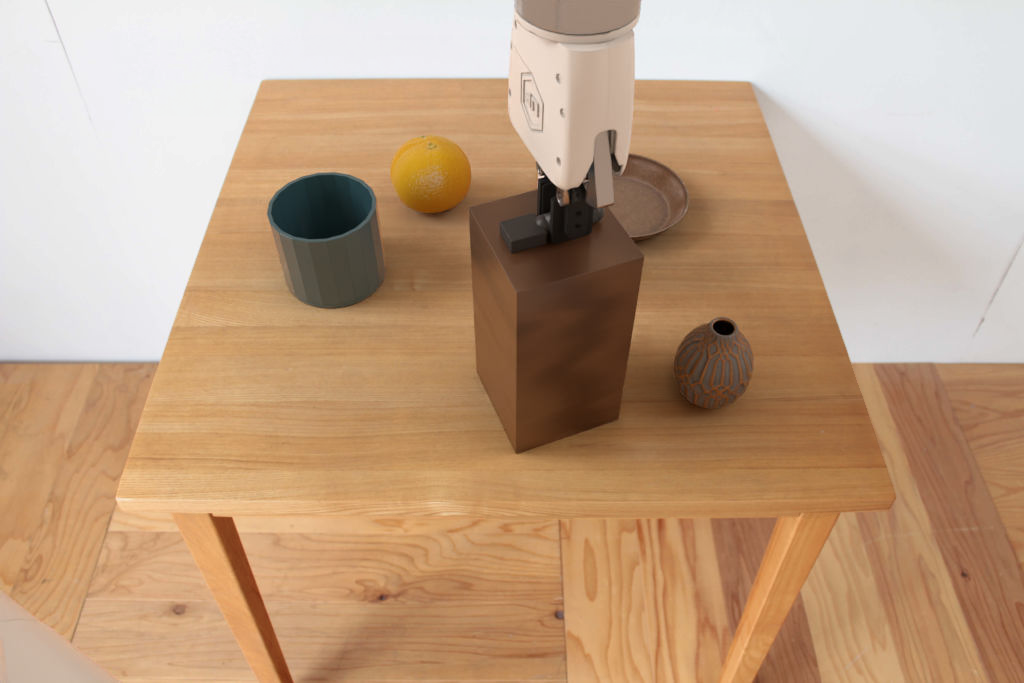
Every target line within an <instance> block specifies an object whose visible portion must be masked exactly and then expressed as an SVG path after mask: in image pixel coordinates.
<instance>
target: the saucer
mask: <svg viewBox="0 0 1024 683" xmlns="http://www.w3.org/2000/svg"><path fill="white" fill-rule="evenodd" d="M612 176H613V189H614V205H612V206H608V207H609V209H610V210H611V211H612V213H613V214H614V215H615V217H616V218H617V220H618V221H619V222H620V224H621V225H622V226H623V228H624V229H625V231H626V232H627V233H628V235H629V236H630V237H631V239H632V240H633V241H634V242H635V241H641V240H642V241H643V240H646V239H649V238H653V237H656V236H658V235H660V234H662V233H664V232H666V231H668V230H670V229H671V228H672V227H674V226H675V225H676V224H677V223H679V222H680V221H681V220H682V219H683V218H684V216H685V215H686V214H687V211H688V209H689V205H690V193H689V189H688V187H687V185H686V183H685V182H684V180H683V179H682V178H681V176H679V174H677V173H676V171H675V170H673V169H672V168H671V167H669V166H668V165H666V164H664V163H662V162H660V161H658V160H656V159H653V158H651V157H649V156H644V155H641V154H637V153H631V152H629V154H628V159H627V164H626V167H625V169H624V171H623V173H622V174H621V176H619V177H617V176H615V175H613V174H612Z"/></svg>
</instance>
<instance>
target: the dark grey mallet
mask: <svg viewBox="0 0 1024 683" xmlns="http://www.w3.org/2000/svg"><path fill="white" fill-rule="evenodd" d="M603 216H604V208H600V209H597V210H596V209H594V212H593V223H596V222H598V221H600V220H601V219H602V218H603ZM549 233H550V212H549V213H545V214H542V215H539V216H538V217H537V216H536V214H535V213H531V214H527V215H523V216H519V217H515V218H512V219H508V220H504V221H500V235H501V237H502V238H503V240H504V242H505V243H506V245H507V247H508V248H509V250H510V252H511V253H515V252H519V251H523V250H526V249H530V248H534V247H537V246H541V245H545V244H546V242H547V236H548V235H549Z"/></svg>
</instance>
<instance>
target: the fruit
mask: <svg viewBox="0 0 1024 683" xmlns="http://www.w3.org/2000/svg"><path fill="white" fill-rule="evenodd" d="M389 174H390V181H391V184H392V186H393V189H394V190H395V193H396V195H397V197H398V199H400V201H401V202H402V203H403V204H404V205H405V206H406V207H407V208H410V209H411V210H412V211H416V212H419V213H424V214H435V213H442V212H445V211H449V210H451V209H454V208H455V207H456V206H457V205H459V204H460V203H462V201H463V200H464V199H465V198H466V196H467V195H468V193H469V191H470V188H471V184H472V168H471V164H470V160H469V158H468V156H467V155H466V153H465V151H464V150H463V149H462V147H461V146H460V145H459V144H458V143H456V142H455V141H454V140H450V139H449V138H447V137H443V136H440V135H436V134H427V135H421V136H416V137H413V138H411V139H409V140H407V141H405V142H404V143H403V144H402V145H401V146H399V147H398V149H397V150H396V152H395V153H394V155H393V158H392V160H391V163H390V172H389Z"/></svg>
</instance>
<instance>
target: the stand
mask: <svg viewBox="0 0 1024 683" xmlns="http://www.w3.org/2000/svg"><path fill="white" fill-rule="evenodd" d="M583 181H586V177H585V178H584V180H583ZM537 196H538V189H537V188H536V189H533V190H530V191H525V192H521V193H517V194H514V195H509V196H506V197H502V198H498V199H494V200H489V201H485V202H482V203H478V204H475V205H471V206H468V224H469V225H468V227H469V246H470V248H469V249H470V265H471V282H472V284H471V287H472V288H471V289H472V304H473V305H472V306H473V308H472V309H473V326H474V328H473V329H474V345H475V349H474V350H475V365H476V366H475V367H476V373H477V375H478V378H479V380H480V382H481V384H482V386H483V388H484V391H485V392H486V394H487V396H488V399H489V400H490V403H491V404H492V406H493V407H492V408H493V409H494V411H495V414H496V415H497V417H498V419H499V421H500V424H501V426H502V429H503V430H504V432H505V435H506V436H507V439H508V440H509V443H510V444H511V447H512V449H513V451H514V453H515V454H516V455H517V454H520V453H522V452H525V451H529V450H531V449H535V448H538V447H541V446H543V445H547V444H549V443H553V442H555V441H559V440H561V439H565V438H567V437H570V436H571V437H572V436H573V435H577V434H579V433H582V432H586V431H588V430H591V429H594V428H597V427H600V426H603V425H604V426H605V425H607V424H609V423H612V422H617V421H618V420H619V419H620V413H621V409H622V401H623V394H624V389H625V382H626V376H627V370H628V364H629V358H630V352H631V351H630V350H631V345H632V338H633V332H634V325H635V320H636V312H637V307H638V301H639V294H640V288H641V281H642V275H643V268H644V262H645V255H644V253H643V252H642V250H640V248H639V247H638V245H637V244H636V243H635V241H633V240H632V239H631V237H630V236H629V235H628V233H627V232H626V231H625V229H624V228H623V226H622V225H621V224H620V222H619V221H618V220H617V218H616V217H615V215H614V214H613V213H612V211H611V210H610V209H609V207H604V216H603V218H602V219H601V220H600V221H598V222H596V223H592V231H591V233H590V234H589V235H587V236H583V237H580V238H576V239H573V240H569V241H565V242H562V243H558V244H553V243H552V241H551V240H550V238H549V235H548V236H547V242H546V244H545V245H541V246H537V247H534V248H530V249H526V250H523V251H519V252H515V253H511V252H510V250H509V248H508V247H507V245H506V243H505V242H504V240H503V238H502V237H501V235H500V221H504V220H508V219H512V218H515V217H519V216H523V215H527V214H531V213H535V214H536V216H537Z"/></svg>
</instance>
